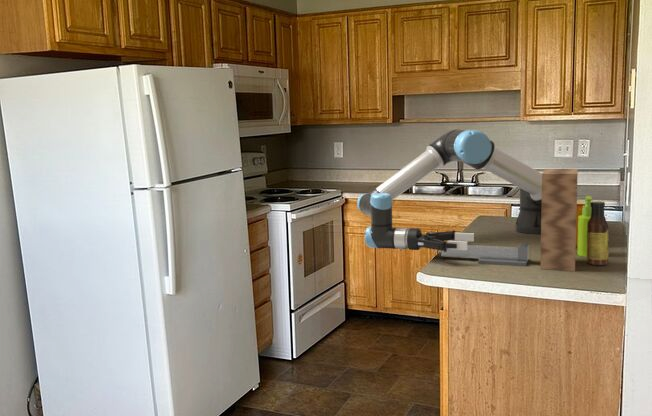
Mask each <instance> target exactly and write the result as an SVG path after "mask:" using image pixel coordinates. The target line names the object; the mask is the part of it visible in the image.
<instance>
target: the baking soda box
mask: <svg viewBox="0 0 652 416" xmlns="http://www.w3.org/2000/svg"><path fill="white" fill-rule="evenodd" d="M591 202H594V200H593V199H592V201H591ZM584 205H585V199H577V214H576V248H577V244H578V216H581V215H582V209H583V206H584Z"/></svg>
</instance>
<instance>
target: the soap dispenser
mask: <svg viewBox="0 0 652 416" xmlns="http://www.w3.org/2000/svg"><path fill="white" fill-rule="evenodd" d="M584 200H585V205H584V206H583V209H582V215H581V216H578V244H577V250H576V252H577V253H576V254H577V256H580V257H586V258H587V224H588V221H589V220H590V218H591V201H592V200H593V198H592V195H586V196H584Z"/></svg>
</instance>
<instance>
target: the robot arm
mask: <svg viewBox="0 0 652 416" xmlns="http://www.w3.org/2000/svg"><path fill="white" fill-rule="evenodd" d="M451 162H461V163H463V164H465V165H468V166H470V167H471V168H473V169H475V170H477V171H479V170H483V169H484V170H485V171H487V172H489V173H491V174H493V175H495V176H497V177H499V178H500V179H502V180H503V181H506V182H508V183H510V184H512V185H513V186H516V187H517V188H519V212H518V215H517V218H516V221H515V224H514V230H515V231H516V232H518V233H524V234H536V235H537V234H540V235H541V206H542V173H543V172H540V171H539V170H537V169H535V168H532V166H530V165H527V163H526V164H525V163H523V162H522V161H520V160H519V159H516V158H515V157H513V156H511V155H509V154H507V153H505V152H504V151H502V150H500V149H499V148H496V143H495V142H494V141H493V140H491V139H490V137H489V136H488V135H487V134H485V133H484V132H482V131H480V130H478V129H452V130H449V131H446V132H445V133H444V134H442V135H441V136H439V137H438V138H437V139H435V140H434V141H433V142H432V143H430V144H429V145H427V146H426V149H425V151H424V152H422V153H420V155H418V156H417V157H416V158H414V159H412V161H410V162H409V163H407V164H406V165H404V167H402V168H401V169H400V170H398V171H397V172H396V173H395V174H393V175H392V176H389V178H388V179H386V180H385V181H383V182H382V183H381V184H380V185H378V186H376V188H374V189H372V190H371V191H369V192H368V193H363V194H361V195H359V196H358V198H357V201H356V206H357V209H358V211H360V212H361V213H363V214H364V215H367V216H369V217H370V220H371V222H370V224H371V225H370V226H367V227H366V228H365V232H364V243H365V245H366V246H367V247H368V248H373V249H394V250H399V251H403V250H412V251H419V250H420V249H421V248H424V249H431V250H436V251H439V252H441V251H443V252H447V249H451V250H468V245H469V244H468V242H472V243H473V242H475V233H474V232H473V233H472V232H471V233H469V232H456V230H454V229H453V230H451V231H435V232H434V231H433V232H431V231H430V232H429V231H427V232H426V233H425V234H422V230H421V229H420V228H417V227H416V228H415V227H410V228H408V227H393V200H395V199H397V198H398V197H399V196H400V195H402V194H403V193H404V192H406V191H407V190H409V189H410V188H412V187H413V186H414V185H416V184H417V183H418V182H420V181H421V180H422V179H424V178H425V177H426V176H427V175H429V174H430V173H432V172H433V171H435V170H436V169H437V168H438V167H439V168H443V167H444V166H446V165H447V164H449V163H451ZM577 196H578V192H577Z"/></svg>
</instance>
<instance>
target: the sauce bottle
mask: <svg viewBox="0 0 652 416" xmlns="http://www.w3.org/2000/svg"><path fill="white" fill-rule="evenodd" d="M605 206H606V203H605V201H599V200H598V201H597V200H595V201H594V200H593V202H591V218H590V220H589V221H588V224H587V257H586V259H587V263H588V264H589V265H591V266H606V265H607V264H608V263H609V241H610V240H609V233H610V231H609V225H608V222H607V220H606V216H605Z"/></svg>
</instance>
